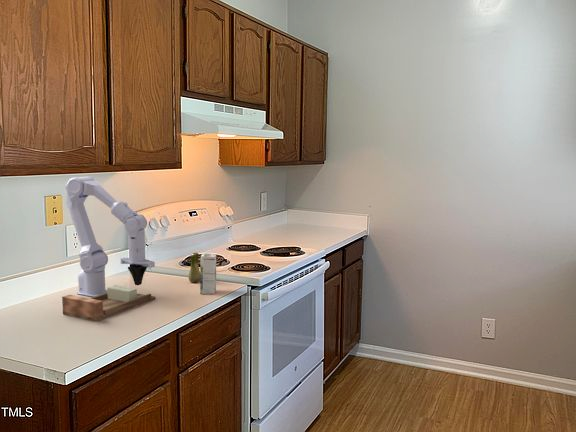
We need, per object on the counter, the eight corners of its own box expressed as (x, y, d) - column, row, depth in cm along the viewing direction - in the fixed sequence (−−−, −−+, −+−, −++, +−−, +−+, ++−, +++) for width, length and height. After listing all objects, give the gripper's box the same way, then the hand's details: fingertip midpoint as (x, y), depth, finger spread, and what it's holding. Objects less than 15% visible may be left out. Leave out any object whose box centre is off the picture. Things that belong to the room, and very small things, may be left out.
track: (63, 314, 178) (62, 296, 177) (124, 293, 202) (123, 278, 202) (96, 321, 171) (95, 303, 170) (155, 299, 196) (154, 283, 195)
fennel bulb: (192, 284, 217) (192, 255, 215) (185, 282, 220) (184, 253, 219) (203, 281, 221) (203, 253, 219) (196, 279, 224) (196, 251, 223)
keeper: (107, 298, 192) (107, 287, 191) (115, 295, 195) (115, 285, 195) (129, 302, 187) (128, 291, 187) (137, 299, 191) (136, 288, 190)
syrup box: (201, 290, 208) (200, 253, 206) (216, 290, 209) (216, 253, 207) (200, 294, 202) (199, 256, 200) (215, 294, 203) (215, 256, 201)
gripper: (114, 248, 196) (115, 284, 198) (144, 252, 189) (146, 289, 191) (127, 245, 202) (129, 280, 204) (158, 248, 195) (159, 285, 197)
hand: (138, 284), depth 198 cm, fingers closed
